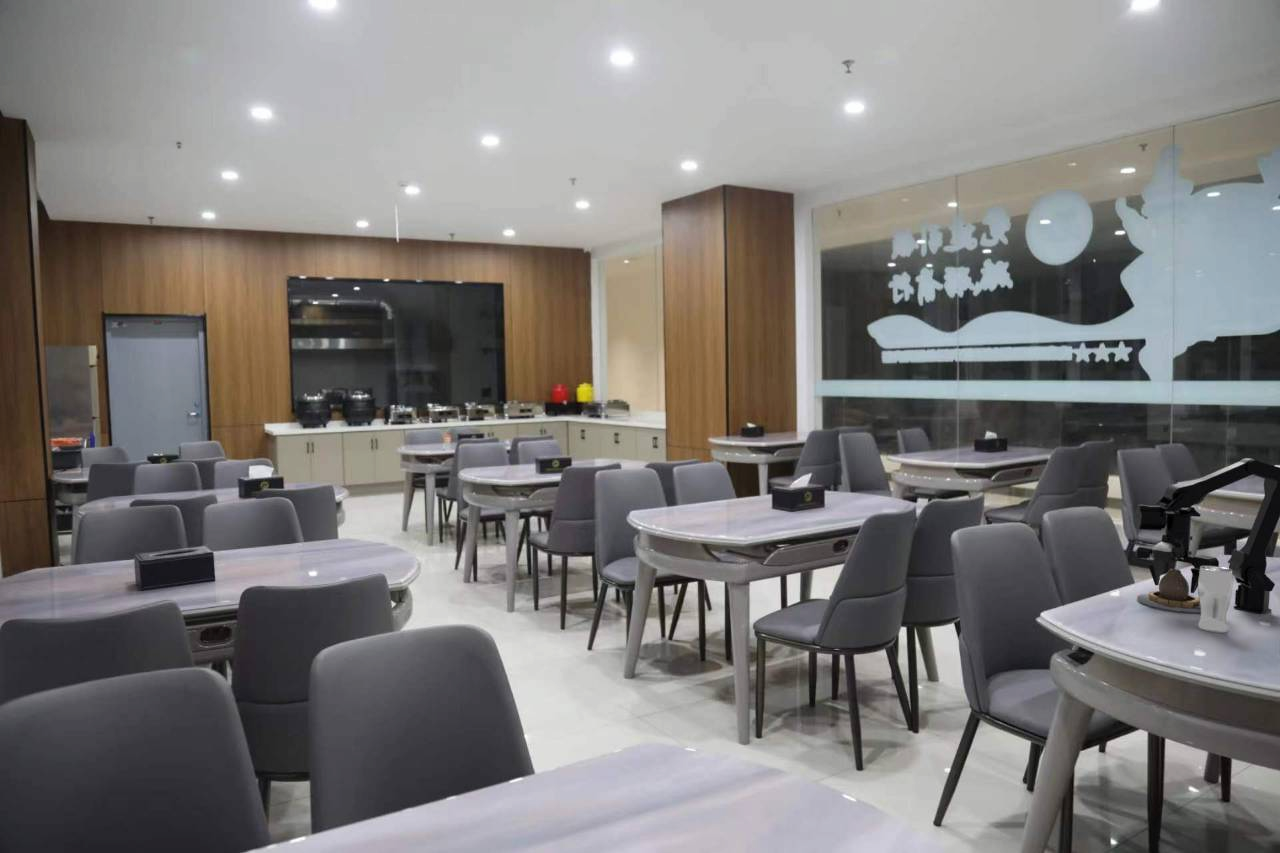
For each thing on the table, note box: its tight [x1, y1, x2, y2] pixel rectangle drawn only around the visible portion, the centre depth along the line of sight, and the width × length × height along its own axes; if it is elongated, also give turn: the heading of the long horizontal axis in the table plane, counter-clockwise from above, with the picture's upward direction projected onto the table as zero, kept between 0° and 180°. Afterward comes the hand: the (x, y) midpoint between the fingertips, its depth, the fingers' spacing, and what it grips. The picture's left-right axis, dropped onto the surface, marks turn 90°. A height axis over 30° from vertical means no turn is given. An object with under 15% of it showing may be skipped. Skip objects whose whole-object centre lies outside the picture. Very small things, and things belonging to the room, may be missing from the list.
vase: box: [1158, 568, 1190, 601], centre depth 231 cm, size 7×7×9 cm
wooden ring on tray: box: [1136, 590, 1200, 614], centre depth 231 cm, size 17×17×2 cm
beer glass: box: [1197, 566, 1234, 634], centre depth 208 cm, size 7×7×15 cm
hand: (1174, 589), depth 231 cm, fingers open, 9 cm apart
